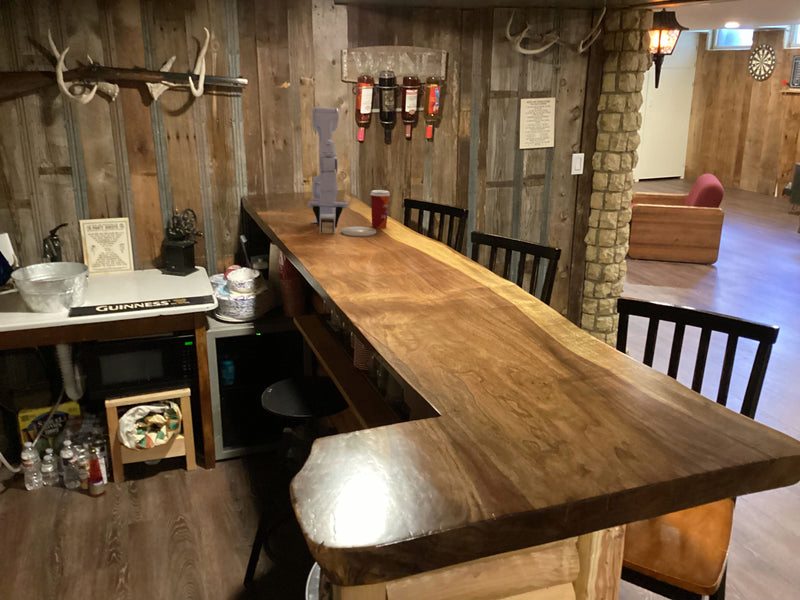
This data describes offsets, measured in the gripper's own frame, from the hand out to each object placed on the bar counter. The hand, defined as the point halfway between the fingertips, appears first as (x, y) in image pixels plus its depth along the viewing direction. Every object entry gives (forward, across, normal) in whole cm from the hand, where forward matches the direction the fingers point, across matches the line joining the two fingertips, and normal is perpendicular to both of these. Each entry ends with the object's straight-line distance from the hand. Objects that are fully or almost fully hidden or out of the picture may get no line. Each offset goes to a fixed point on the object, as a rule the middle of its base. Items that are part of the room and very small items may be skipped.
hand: (327, 226), depth 260 cm
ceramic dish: (+2, +12, 0) cm, 12 cm away
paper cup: (+2, +20, +12) cm, 23 cm away
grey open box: (+2, 0, 0) cm, 2 cm away
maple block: (+2, 0, 0) cm, 2 cm away
